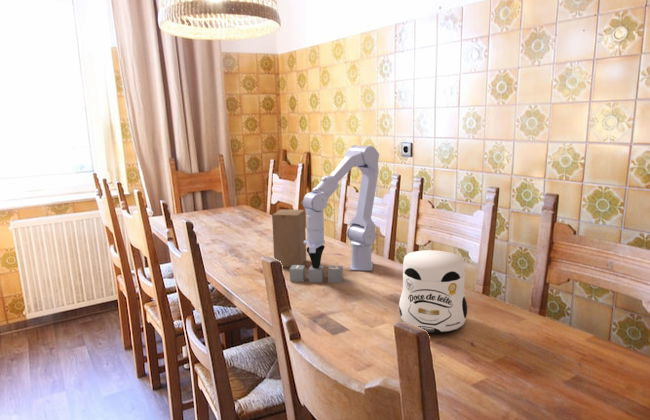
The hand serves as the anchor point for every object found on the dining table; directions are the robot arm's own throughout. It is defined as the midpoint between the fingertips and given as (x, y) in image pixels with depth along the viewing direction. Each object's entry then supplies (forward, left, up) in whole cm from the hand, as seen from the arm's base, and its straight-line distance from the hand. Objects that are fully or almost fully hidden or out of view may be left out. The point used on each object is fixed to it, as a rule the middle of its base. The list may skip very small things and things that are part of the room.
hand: (316, 267), depth 155 cm
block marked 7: (0, +7, -4) cm, 8 cm away
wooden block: (-17, -12, -5) cm, 22 cm away
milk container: (+31, +36, -5) cm, 47 cm away
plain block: (0, 0, -4) cm, 4 cm away
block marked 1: (0, -6, -4) cm, 8 cm away
